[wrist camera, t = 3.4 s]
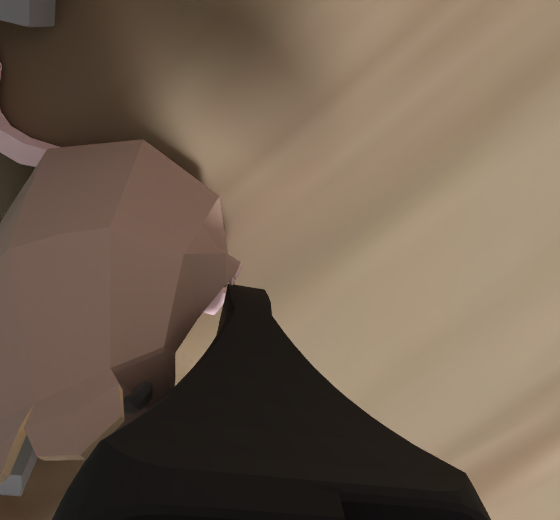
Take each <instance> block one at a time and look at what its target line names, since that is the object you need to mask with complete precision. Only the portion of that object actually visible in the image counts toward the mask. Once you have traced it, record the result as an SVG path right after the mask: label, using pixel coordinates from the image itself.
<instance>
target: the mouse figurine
mask: <svg viewBox="0 0 560 520" xmlns="http://www.w3.org/2000/svg"><path fill="white" fill-rule="evenodd" d="M1 70H2V65H1V63H0V79H1ZM0 153H2V154H4V155H5V156H7V157H9V158H10V159H12V160H14V161H16V162H17V163H19V164H23V165H28V166H33V167H36V168H35V169H34V171H33V172H32V174H31V175H30V177H29V178H28V180H27V181H26V183H25V184H24V186H23V187H22V189H21V191H20V192H19V194H18V195H17V197H16V198H15V200H14V201H13V203H12V204H11V206H10V207H9V209H8V210H7V212H6V214H5V215H4V217H3V218H2V220H1V222H0V484H2V483H3V482H4V481H5V480H6V479H7V478H8V477H9V476H10V473H11V471H12V468H13V466H14V464H15V461H16V459H17V457H18V454H19V452H20V449H21V447H22V445H23V442H24V440H25V438H26V435H27V436H28V438H29V441H30V443H31V445H32V447H33V450H34V452H35V454H36V456H37V457H38V458H40V459H42V460H43V461H55V460H86V459H87V458H88V457H89V456H90V454H91V453H92V451H93V450H94V448H95V447H96V446H97V444H98V443H99V441H101V440H103V439H104V438H106V437H107V436H109V435H111V434H112V433H114V432H115V431H117V430H118V429H120V428H122V427H123V426H125V425H126V424H128V423H129V422H131V421H133V420H134V419H135V418H137V417H138V416H140V415H141V414H142V413H144V412H145V411H146V410H147V409H149V408H150V407H151V406H152V405H154V404H155V403H156V402H157V401H159V400H160V399H161V398H162V397H164V396H165V395H166V394H167V393H168V392H169V391H170V390H172V389H173V388H174V385H175V352H176V351H177V349H178V348H179V346H180V345H181V343H182V342H183V340H184V339H185V337H186V336H187V334H188V333H189V331H190V330H191V328H192V327H193V325H194V324H195V322H196V321H197V319H198V318H199V316H200V315H201V314H202V313H203V312H204V313H208V314H211V315H215V313H216V312H217V311H218V310H219V309H220V307H221V306H222V305H223V304H224V299H225V295H226V290H227V288H225V287H224V286H225V285H226V284H227V283H228V282H229V283H230V285H231V286H232V285H233V284H234V279H237V277H238V275H239V273H240V270H241V268H242V263H241V262H240V261H239V260H237V259H235V258H233V257H232V256H230V255H228V253H227V246H226V239H225V232H224V225H223V218H222V211H221V204H220V198H219V196H218V195H217V194H216V193H214V192H213V191H212V190H210V189H209V188H208V187H206V186H205V185H204V184H202V183H201V182H200V181H198V180H197V179H196V178H194V177H193V176H192V175H190V174H189V173H188V172H186V171H185V170H184V169H182V168H181V167H180V166H178V165H177V164H176V163H174V162H173V161H172V160H170V159H169V158H168V157H166V156H165V155H164V154H162V153H161V152H160V151H158V150H157V149H156V148H154V147H153V146H152V145H150V144H149V143H148V142H146V141H145V140H144V139H141V140H131V141H121V142H111V143H100V144H90V145H80V146H70V147H59V146H56V145H52V144H49V143H46V142H43V141H40V140H37V139H34V138H31V137H29V136H27V135H25V134H24V133H22V132H20V131H19V130H17V129H15V128H14V127H12V126H11V125H10V124H9V122H8V121H7V120H6V118H5V117H4V115H3V114H2V112H1V108H0Z"/></svg>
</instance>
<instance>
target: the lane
mask: <svg viewBox="0 0 560 520" xmlns="http://www.w3.org/2000/svg"><path fill="white" fill-rule="evenodd" d="M55 4H56V0H0V20H1V21H5V22H9V23H14V24H18V25H22V26H26V27H55ZM37 459H38V457H37V456H36V454H35V452H34V450H33V447H32V445H31V443H30V441H29V438H28V436H27V435H26V438H25V440H24V442H23V445H22V447H21V449H20V452H19V454H18V457H17V459H16V461H15V464H14V466H13V468H12V471H11V473H10V476H9V477H8V478H7V479H6V480H5V481H4V482H3V483H2V484H0V495H11V496H22V494H23V491H24V489H25V487H26V484H27V482H28V480H29V478H30V475H31V473H32V471H33V468H34V466H35V464H36V461H37Z"/></svg>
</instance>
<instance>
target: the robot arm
mask: <svg viewBox="0 0 560 520" xmlns="http://www.w3.org/2000/svg"><path fill="white" fill-rule="evenodd" d="M52 520H491V519H490V517H489V515H488V513H487V511H486V509H485V507H484V505H483V504H482V502H481V500H480V498H479V496H478V494H477V492H476V490H475V489H474V487H473V485H472V483H471V481H470V480H469V478H468V476H467V475H466V473H464V472H463V471H461V470H459V469H457V468H455V467H453V466H452V465H450V464H448V463H446V462H444V461H442V460H441V459H439V458H437V457H435V456H433V455H431V454H430V453H428V452H426V451H424V450H422V449H421V448H419V447H417V446H415V445H414V444H412V443H410V442H409V441H407V440H406V439H404V438H403V437H401V436H399V435H398V434H396V433H395V432H393V431H392V430H390V429H389V428H387V427H386V426H384V425H383V424H381V423H380V422H378V421H377V420H376V419H374V418H373V417H371V416H370V415H369V414H367V413H366V412H365V411H363V410H362V409H361V408H360V407H358V406H357V405H356V404H355V403H353V402H352V401H351V400H349V399H348V398H347V397H346V396H345V395H343V394H342V393H341V392H340V391H339V390H337V389H336V388H335V387H334V386H333V385H332V384H331V383H330V382H329V381H328V380H327V379H326V378H325V377H324V376H323V375H321V374H320V373H319V372H318V371H317V370H316V369H315V368H314V367H313V366H312V365H311V364H310V362H309V361H308V360H307V359H306V358H305V357H304V356H303V355H302V353H301V352H300V351H299V350H298V349H297V348H296V347H295V345H294V344H293V343H292V342H291V340H290V339H289V338H288V337H287V335H286V334H285V333H284V332H283V330H282V329H281V327H280V326H279V325H278V323H277V322H276V321H275V319H274V318H273V316H272V312H271V302H270V300H269V297H268V295H267V293H266V291H265V290H263V289H257V288H251V287H245V286H239V285H232V286H231V285H230V284H228V286H227V290H226V295H225V299H224V304H223V308H222V313H221V318H220V322H219V327H218V331H217V336H216V337H215V339H214V340H213V342H212V344H211V345H210V347H209V348H208V349H207V351H206V352H205V353H204V355H203V356H202V357H201V359H200V360H199V361H198V362H197V363H196V365H195V366H194V367H193V368H192V369H191V370H190V371H189V372H188V373H187V375H186V376H185V377H184V378H183V379H182V380H181V381H180V382H179V383H178V384H177V385H176V386H175V387H174V388H173V389H172V390H170V391H169V392H168V393H167V394H166V395H165V396H164V397H162V398H161V399H160V400H159V401H157V402H156V403H155V404H154V405H152V406H151V407H150V408H149V409H147V410H146V411H145V412H144V413H142V414H141V415H140V416H138V417H137V418H135V419H134V420H133V421H131V422H129V423H128V424H126V425H125V426H123V427H122V428H120V429H118V430H117V431H115V432H114V433H112V434H111V435H109V436H107V437H106V438H104V439H103V440H101V441H99V443H98V444H97V446H96V447H95V448H94V450H93V451H92V453H91V454H90V456H89V457H88V459H87V460H86V461H85V463H84V464H83V466H82V467H81V469H80V470H79V472H78V474H77V475H76V477H75V478H74V480H73V481H72V483H71V485H70V486H69V488H68V490H67V492H66V493H65V495H64V497H63V499H62V501H61V503H60V505H59V507H58V509H57V511H56V513H55V515H54V517H53V519H52Z"/></svg>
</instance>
